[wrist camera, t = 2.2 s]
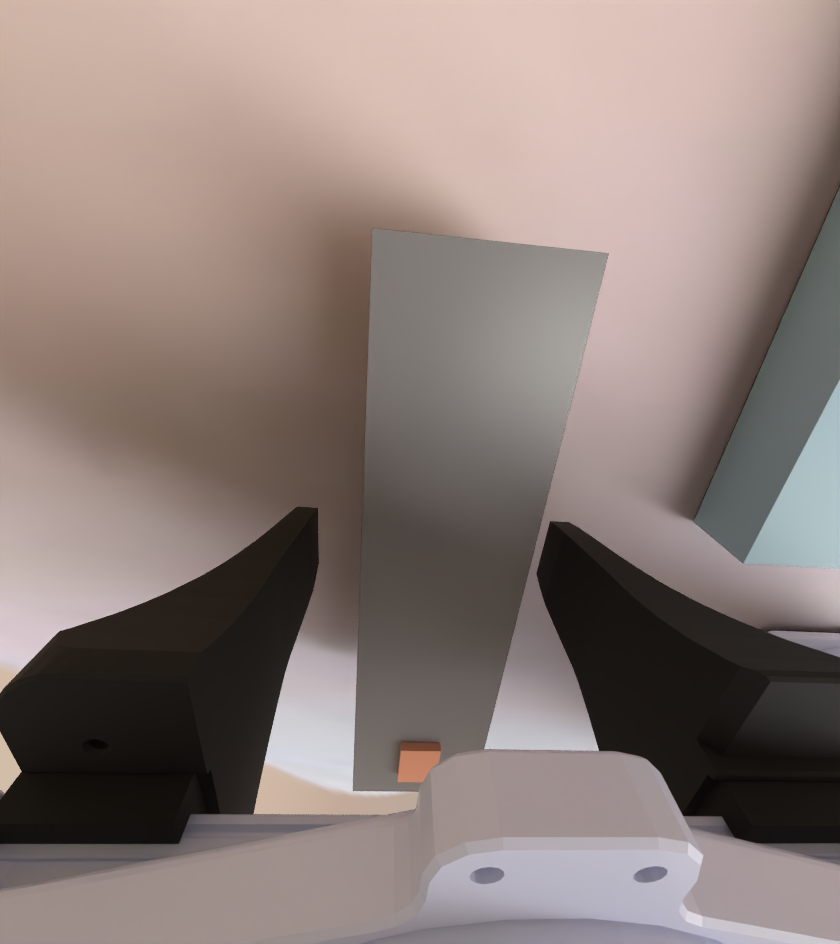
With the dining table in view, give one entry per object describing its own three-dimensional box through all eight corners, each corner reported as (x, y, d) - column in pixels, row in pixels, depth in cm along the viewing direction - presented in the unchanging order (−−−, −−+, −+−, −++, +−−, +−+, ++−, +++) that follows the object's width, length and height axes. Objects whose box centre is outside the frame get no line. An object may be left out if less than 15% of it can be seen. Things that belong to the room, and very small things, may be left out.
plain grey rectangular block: (455, 664, 18) (474, 800, 14) (365, 662, 18) (351, 799, 13) (528, 262, 12) (615, 252, 7) (384, 247, 11) (371, 226, 6)
